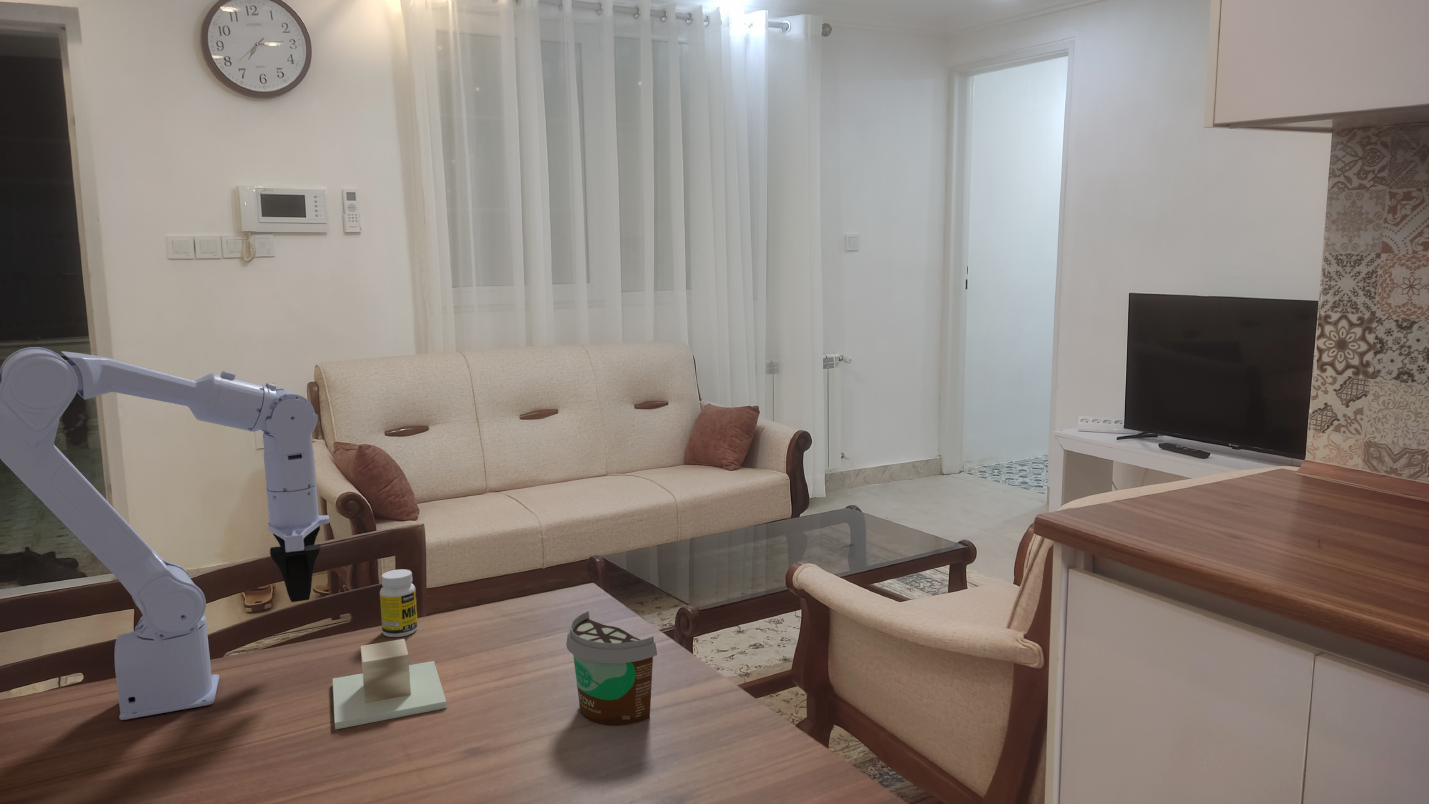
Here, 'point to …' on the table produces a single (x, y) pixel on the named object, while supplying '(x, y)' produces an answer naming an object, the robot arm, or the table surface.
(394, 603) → the supplement bottle
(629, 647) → the food container
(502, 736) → the table surface
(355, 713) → the tile
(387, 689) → the cube
